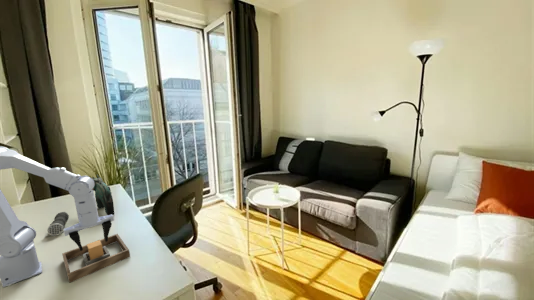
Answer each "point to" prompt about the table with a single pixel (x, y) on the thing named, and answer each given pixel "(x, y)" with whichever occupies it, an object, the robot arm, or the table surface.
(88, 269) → the walled box
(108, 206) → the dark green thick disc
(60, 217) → the flashlight
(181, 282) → the table surface
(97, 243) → the block
